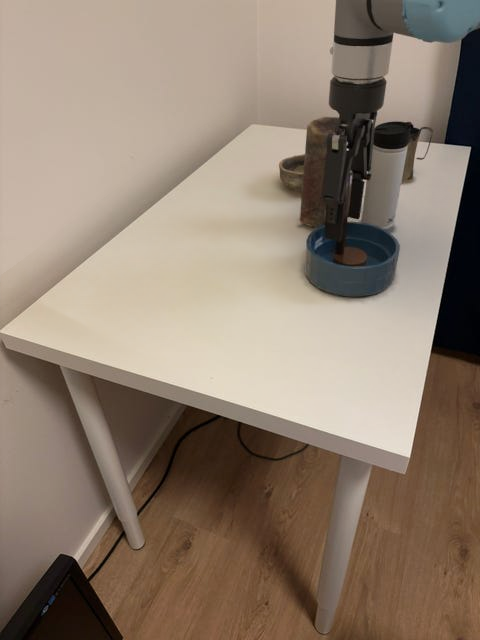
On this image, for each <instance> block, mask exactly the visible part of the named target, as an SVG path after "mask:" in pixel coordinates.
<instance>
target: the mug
mask: <svg viewBox="0 0 480 640" xmlns="http://www.w3.org/2000/svg"><path fill="white" fill-rule="evenodd" d="M422 130H429V131H430V137H429V142H428V146H427V148H426V153H425V154H424V157H416V152H417V148H418V143H419V139H420V135H421V132H422ZM433 134H434V130H433V128H431V127H430V126H422V127H420V128H418V127H414V126H413V129H412V128H411V130H410V136H409V140H408V148H407V154H406V159H405V165H404V170H403V176H402V181H401V184H407V183H411V182H412V181H413V179H414V177H413V176H414V165H415V158H416V160H419V161H422V160H424V159H426V156H427V154H428V152H429V148H430V146H431V143H432V142H431V141H432V138H433Z"/></svg>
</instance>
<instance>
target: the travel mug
mask: <svg viewBox="0 0 480 640" xmlns="http://www.w3.org/2000/svg"><path fill="white" fill-rule="evenodd" d="M413 127H414V124H413V123H412V122H411V121H406V122H405V121H397V120H394V121H387V122H383V123H379V124H377V125H375V129H374V140H373V151H372V162H371V170H370V171H369V172H367V174H371V178H370V180H369V181H368V180H366V183H365V189H364V196H363V197H364V198H363V203H362V204H363V205H362V211H361V220H360V222H362V223H367V224H371V225H375V226H378V227H380V228H383V229H385V230H386V231H388V232H390V233H391V231H392V230H393V229H394V224H395V218H396V213H397V207H398V201H399V197H400V192H401V188H402V187H401V186H402V183H401V181H402V176H403V170H404V165H405V159H406V154H407V148H408V140H409V136H410V130H411V128H412V129H413Z"/></svg>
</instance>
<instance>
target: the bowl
mask: <svg viewBox="0 0 480 640" xmlns="http://www.w3.org/2000/svg"><path fill="white" fill-rule="evenodd" d="M304 162H305V153H303V154H298V155H293V156H289V157H286V158H283V159H281V160H280V161H279V162H278V168H279V179H280V182H281V183H282V184H283V185H285V186H287V187H288V188H291V189H292V190H296V191H300V192H302V188H303V174H304Z"/></svg>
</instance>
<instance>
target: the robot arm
mask: <svg viewBox="0 0 480 640" xmlns="http://www.w3.org/2000/svg"><path fill="white" fill-rule="evenodd" d="M334 10H335V11H334V27H333V28H334V30H333V44H332V46H331V47H330V49H329V54H330V55H332V59H331V74H332V76H333V77H332V78H331V79H330V81H329V92H328V93H329V95H328V106H329V108H331V109H332V110H333V111H336V112H337V113H338V118H339V119H338V122H337V124H336V128H335V134H332V133H329V134H328V136H327V155H326V162H325V170H324V178H323V186H322V193H321V202H322V203H326V204H327V206H326V219H325V231H324V238H327V239H331V240H335V241H339V242H340V241H341V240H342V231H343V222H344V212H345V203H346V202H345V201H343V199H344V195H345V191H346V186H347V182H348V177H349V173H350V169H351V170H352V172H353V177H352V186H351V195H350V204H349V213H348V219H354V220H360V218H361V214H362V207H363V205H362V204H363V199H364V198H363V197H364V192H365V184H366V183H365V181H367V180H368V181H369V180H370V178H371V174H368V172H369V171H370V170H371V162H372V151H373V140H374V130H375V127H376V121H377V117H378V111H380V110H381V109H382V108H383V106H384V103H385V97H386V90H387V89H386V88H387V83H388V82H387V80H386V78H385V77H386V76H387V75H388V74H389V70H390V63H391V55H392V48H393V39H394V34H397V35H402V36H405V37H410V38H414V39H417V40H421V41H422V42H424V43H436V42H437V43H444V44H453V43H456V42H460V41H461V40H463V39H464V38H465V37H466V36H467V35H468V34H469V33H471V32H472V31H476V30H480V0H335V9H334Z"/></svg>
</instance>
